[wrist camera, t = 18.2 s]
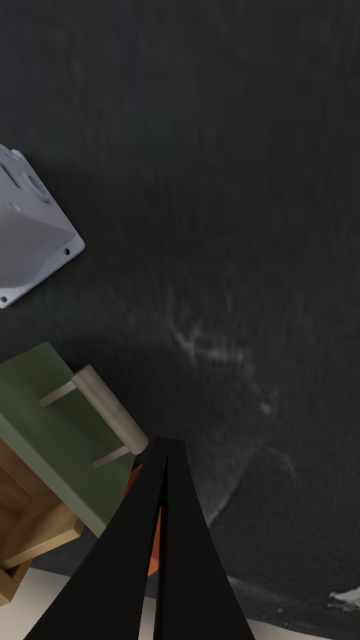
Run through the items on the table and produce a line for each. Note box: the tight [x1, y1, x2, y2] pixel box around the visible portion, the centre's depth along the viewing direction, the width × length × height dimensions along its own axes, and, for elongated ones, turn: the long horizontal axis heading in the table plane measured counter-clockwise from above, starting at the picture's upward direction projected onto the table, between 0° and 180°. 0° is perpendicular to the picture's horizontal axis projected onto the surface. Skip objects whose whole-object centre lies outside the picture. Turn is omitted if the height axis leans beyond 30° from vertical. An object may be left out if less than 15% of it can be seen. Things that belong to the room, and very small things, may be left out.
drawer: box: [0, 342, 148, 571], centre depth 15 cm, size 17×13×6 cm
